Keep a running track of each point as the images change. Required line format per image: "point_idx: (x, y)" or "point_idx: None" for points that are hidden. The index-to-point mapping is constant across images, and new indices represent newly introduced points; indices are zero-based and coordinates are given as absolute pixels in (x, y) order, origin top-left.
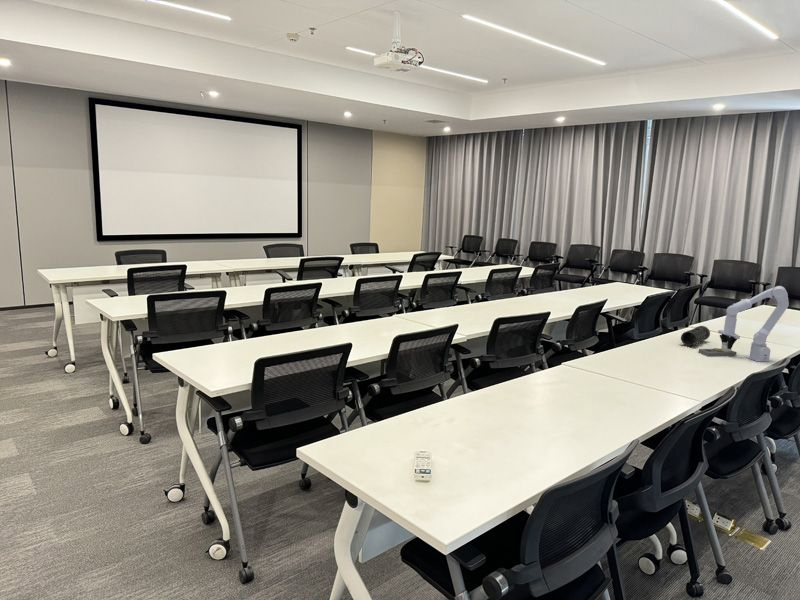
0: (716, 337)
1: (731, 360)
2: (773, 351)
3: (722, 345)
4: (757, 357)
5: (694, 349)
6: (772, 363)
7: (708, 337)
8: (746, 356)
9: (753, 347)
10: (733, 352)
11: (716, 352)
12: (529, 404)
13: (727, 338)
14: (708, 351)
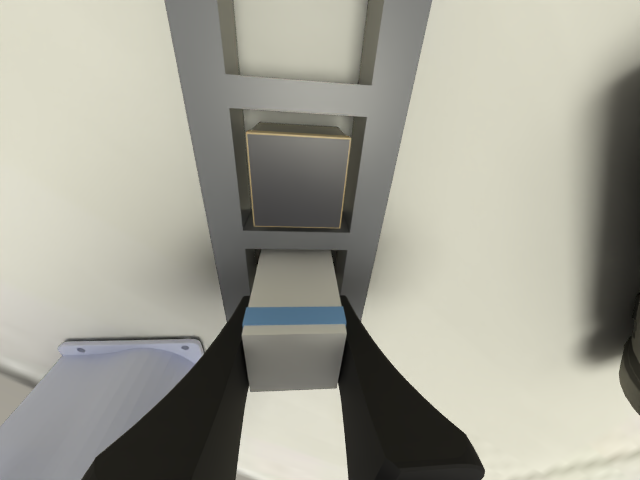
0: (589, 427)
1: (4, 121)
2: (325, 473)
3: (326, 295)
4: (76, 374)
5: (577, 23)
6: None
7: (623, 389)
8: (195, 347)
9: (64, 467)
10: (224, 303)
11: (174, 44)
12: None
13: (184, 458)
14: (364, 71)
